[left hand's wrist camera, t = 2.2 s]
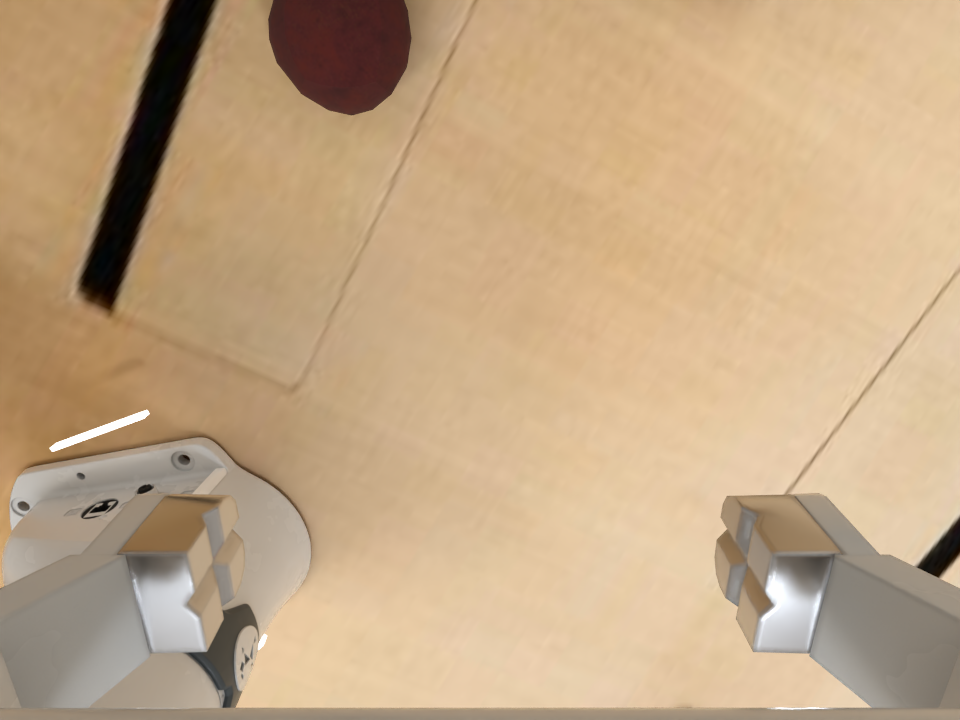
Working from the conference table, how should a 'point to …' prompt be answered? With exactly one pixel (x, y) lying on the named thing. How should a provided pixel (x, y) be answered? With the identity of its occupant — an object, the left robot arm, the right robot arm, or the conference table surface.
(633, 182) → the conference table surface
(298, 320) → the conference table surface
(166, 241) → the conference table surface
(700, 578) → the conference table surface
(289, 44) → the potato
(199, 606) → the left robot arm
